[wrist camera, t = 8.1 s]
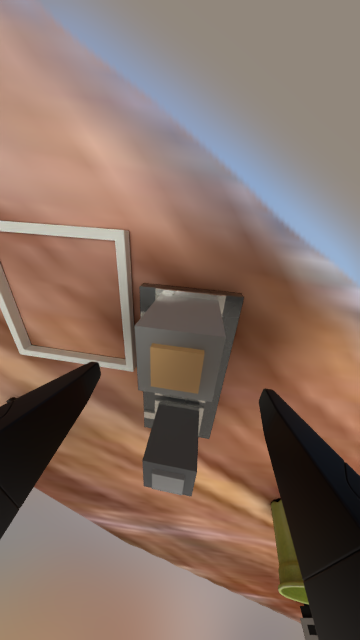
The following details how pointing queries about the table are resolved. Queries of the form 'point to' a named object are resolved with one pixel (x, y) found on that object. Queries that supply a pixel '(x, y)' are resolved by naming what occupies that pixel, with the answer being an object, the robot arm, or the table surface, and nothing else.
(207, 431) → the strip
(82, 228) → the white square frame
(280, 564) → the plant pot
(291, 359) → the table surface
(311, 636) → the game console
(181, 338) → the plug
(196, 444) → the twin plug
